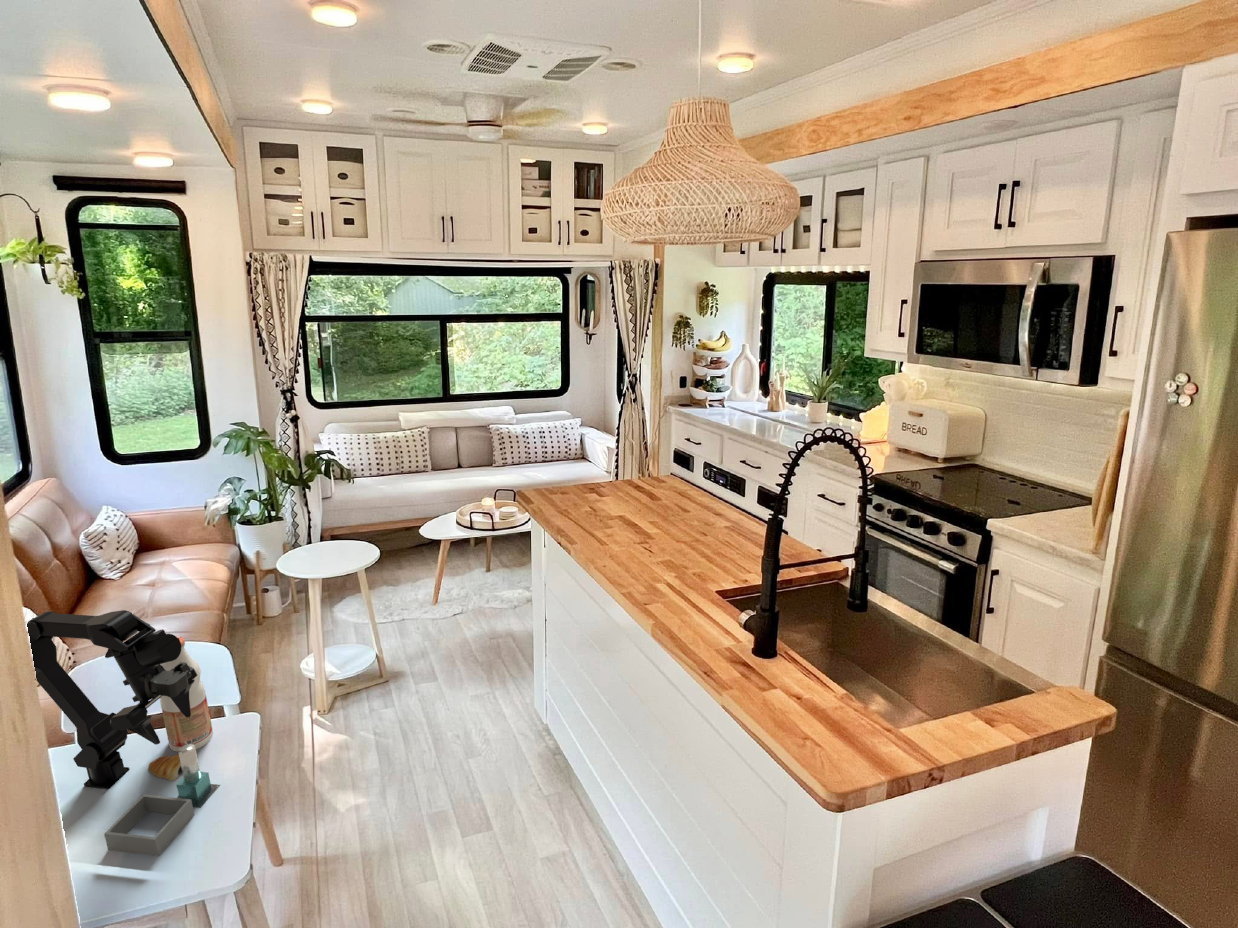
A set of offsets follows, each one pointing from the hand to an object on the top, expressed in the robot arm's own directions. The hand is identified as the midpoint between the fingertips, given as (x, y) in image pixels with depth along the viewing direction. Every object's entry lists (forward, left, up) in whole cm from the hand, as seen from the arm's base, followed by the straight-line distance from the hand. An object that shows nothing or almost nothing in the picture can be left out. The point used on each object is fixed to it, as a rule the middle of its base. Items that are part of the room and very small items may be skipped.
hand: (173, 729), depth 166 cm
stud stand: (+4, -2, -16) cm, 17 cm away
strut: (+4, -2, -15) cm, 16 cm away
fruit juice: (-9, +15, -16) cm, 24 cm away
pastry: (-7, +5, -17) cm, 19 cm away
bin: (+2, -13, -16) cm, 21 cm away
